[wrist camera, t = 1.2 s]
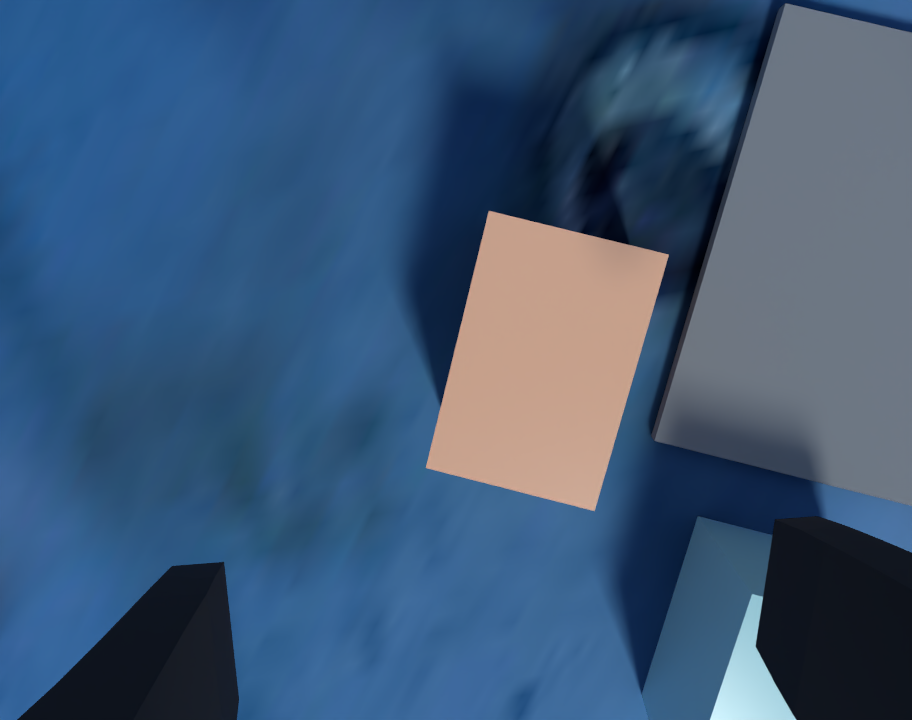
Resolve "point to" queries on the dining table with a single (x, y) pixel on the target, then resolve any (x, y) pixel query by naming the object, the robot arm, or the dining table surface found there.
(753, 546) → the teal brick
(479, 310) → the terracotta brick
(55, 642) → the dining table surface
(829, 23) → the build mat
